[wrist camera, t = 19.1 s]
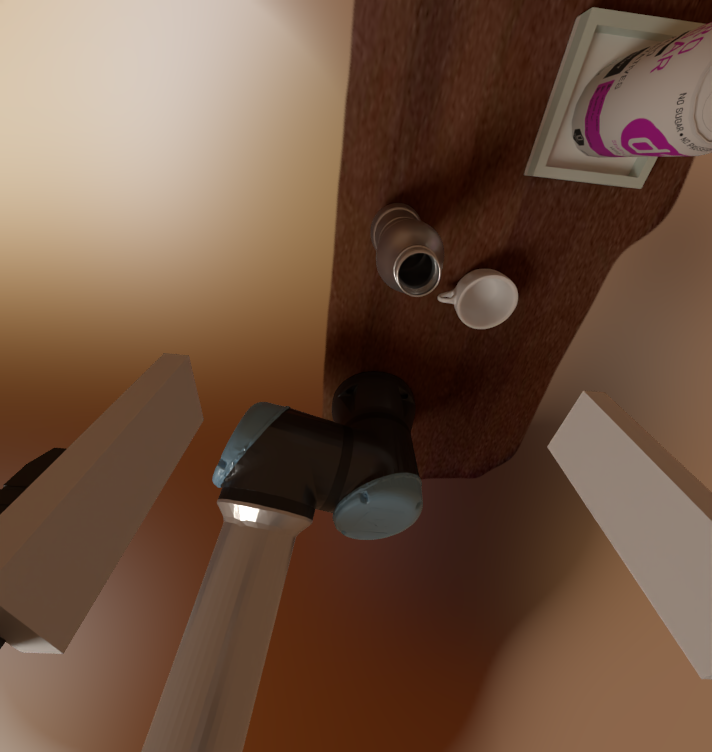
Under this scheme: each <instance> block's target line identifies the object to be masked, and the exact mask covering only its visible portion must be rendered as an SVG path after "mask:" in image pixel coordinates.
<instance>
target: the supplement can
mask: <svg viewBox="0 0 712 752" xmlns="http://www.w3.org/2000/svg"><path fill="white" fill-rule="evenodd" d="M572 138H573V140H574V142H575V145H576V147H577V149H578V150H580V151H581V152H582V153H583V154H585V155H586V156H591V157H598V158H602V157H662V156H700V155H704V154H708V153H712V22H710V23H708V24H705V25H703V26H700V27H698V28H695V29H693V30H690V31H688V32H685V33H683V34H680V35H677V36H675V37H672V38H670V39H667V40H665V41H662V42H660V43H657V44H655V45H652V46H650V47H647V48H645V49H642V50H640V51H637V52H634V53H632V54H629V55H627V56H624V57H622V58H619V59H617V60H614V61H613V62H611V63H610V64H609V65H607V66H606V67H604V68H603V69H601V70H600V71H599V72H598V73H597V74H596V75H595V76H594V77H593V79H592V80H591V81H590V82H589V83H588V84H587V85H586V87H585V89H584V90H583V92H582V94H581V96H580V98H579V100H578V102H577V104H576V107H575V111H574V114H573V118H572Z"/></svg>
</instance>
